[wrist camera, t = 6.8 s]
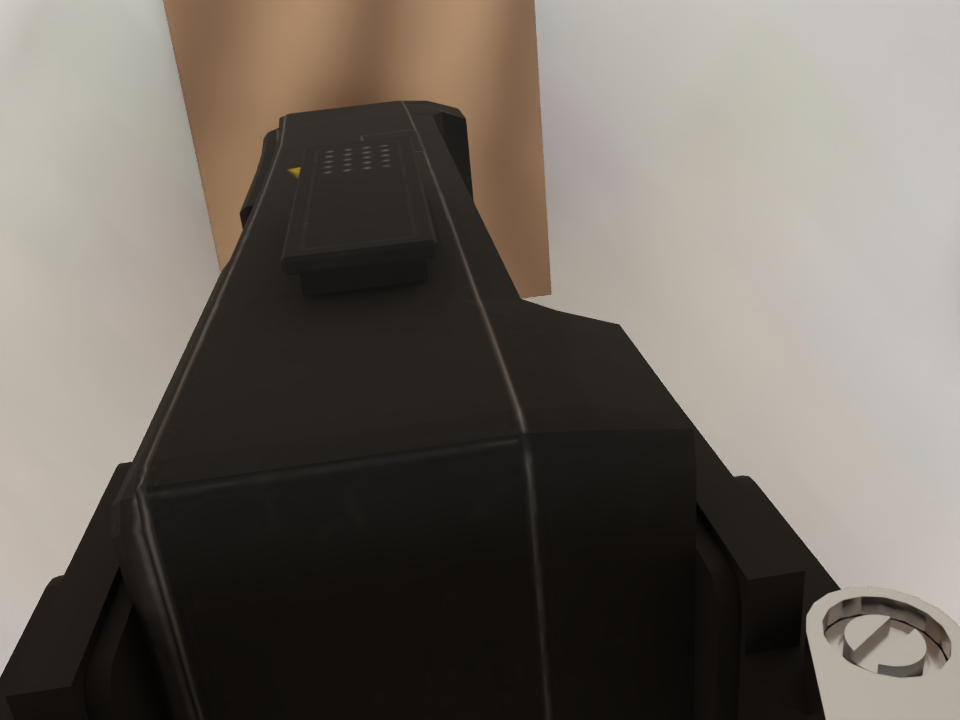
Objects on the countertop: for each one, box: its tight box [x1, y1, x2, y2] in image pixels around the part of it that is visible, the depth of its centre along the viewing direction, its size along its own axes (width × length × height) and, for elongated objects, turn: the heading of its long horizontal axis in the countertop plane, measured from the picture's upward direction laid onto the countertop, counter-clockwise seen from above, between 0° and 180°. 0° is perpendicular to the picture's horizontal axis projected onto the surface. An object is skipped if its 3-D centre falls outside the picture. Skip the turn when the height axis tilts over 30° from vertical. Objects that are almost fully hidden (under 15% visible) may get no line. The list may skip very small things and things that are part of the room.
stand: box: [163, 0, 551, 298], centre depth 38 cm, size 14×14×4 cm
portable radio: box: [111, 101, 697, 720], centre depth 18 cm, size 8×6×25 cm
